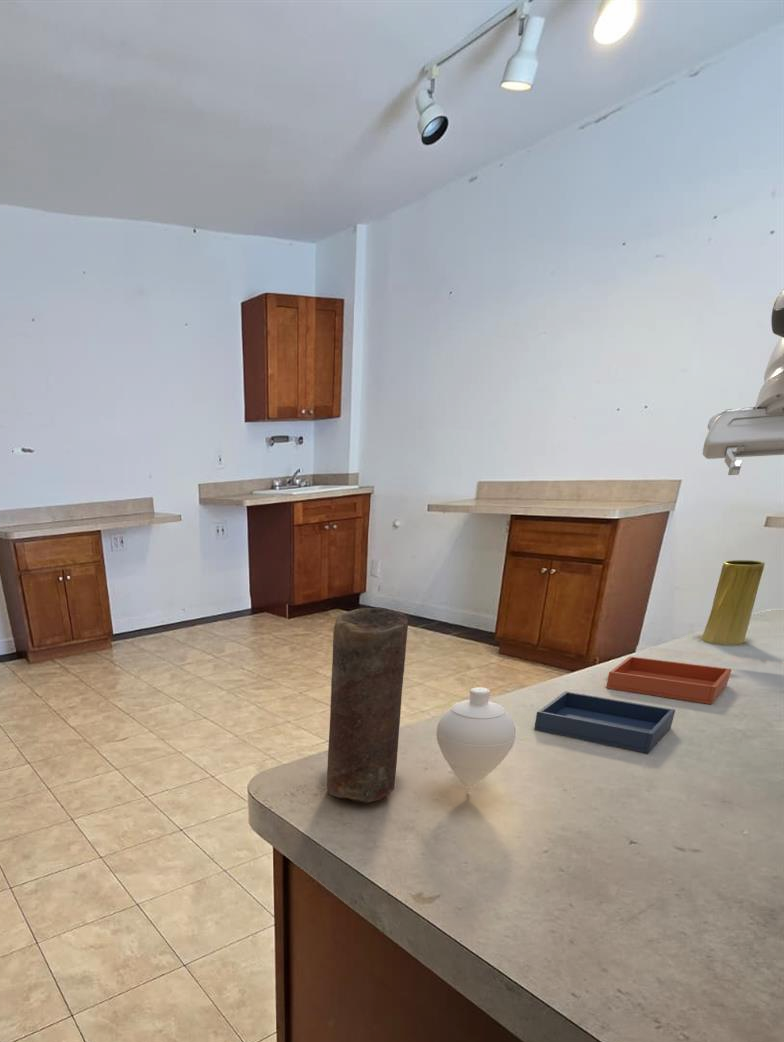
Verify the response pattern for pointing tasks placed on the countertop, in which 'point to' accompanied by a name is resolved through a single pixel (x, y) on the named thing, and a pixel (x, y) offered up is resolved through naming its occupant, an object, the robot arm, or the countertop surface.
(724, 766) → the countertop surface
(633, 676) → the terracotta tray
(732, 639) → the vase
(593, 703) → the blue tray
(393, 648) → the candle
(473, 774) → the spinning top
